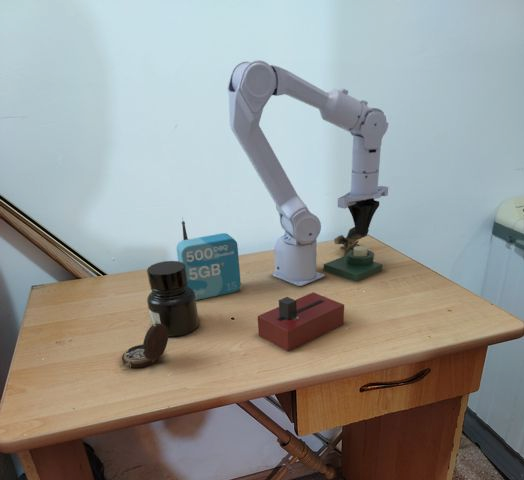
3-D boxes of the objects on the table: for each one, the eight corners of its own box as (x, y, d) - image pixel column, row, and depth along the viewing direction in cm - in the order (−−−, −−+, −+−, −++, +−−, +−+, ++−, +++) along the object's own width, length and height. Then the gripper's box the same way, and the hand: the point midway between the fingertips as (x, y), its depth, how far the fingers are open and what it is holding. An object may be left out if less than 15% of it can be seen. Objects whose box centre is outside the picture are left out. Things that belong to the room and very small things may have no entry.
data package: (188, 302, 99) (180, 247, 93) (183, 294, 103) (175, 241, 97) (241, 290, 103) (237, 237, 97) (234, 283, 107) (230, 231, 100)
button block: (323, 270, 110) (323, 256, 109) (351, 259, 116) (352, 245, 114) (356, 282, 104) (357, 267, 102) (385, 269, 109) (386, 255, 107)
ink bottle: (159, 315, 95) (148, 258, 88) (202, 314, 94) (194, 257, 88) (147, 339, 86) (134, 279, 80) (195, 338, 86) (185, 277, 80)
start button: (350, 255, 109) (350, 248, 108) (359, 252, 111) (359, 244, 110) (361, 258, 107) (361, 251, 106) (370, 255, 109) (370, 247, 108)
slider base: (258, 335, 85) (257, 315, 83) (313, 310, 93) (313, 291, 91) (288, 351, 80) (287, 330, 78) (343, 323, 87) (344, 304, 85)
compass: (136, 347, 84) (128, 310, 80) (174, 354, 81) (167, 317, 78) (107, 370, 78) (97, 332, 74) (147, 379, 75) (138, 340, 71)
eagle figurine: (367, 254, 115) (375, 236, 121) (351, 230, 113) (360, 213, 119) (342, 266, 120) (351, 248, 126) (326, 244, 118) (336, 227, 124)
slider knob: (279, 315, 83) (278, 300, 81) (287, 311, 84) (287, 296, 82) (288, 319, 81) (287, 304, 80) (296, 316, 82) (296, 300, 81)
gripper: (357, 179, 93) (353, 245, 100) (401, 167, 101) (395, 230, 108) (330, 174, 98) (329, 238, 105) (375, 164, 105) (371, 224, 112)
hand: (361, 233), depth 106 cm, fingers closed
